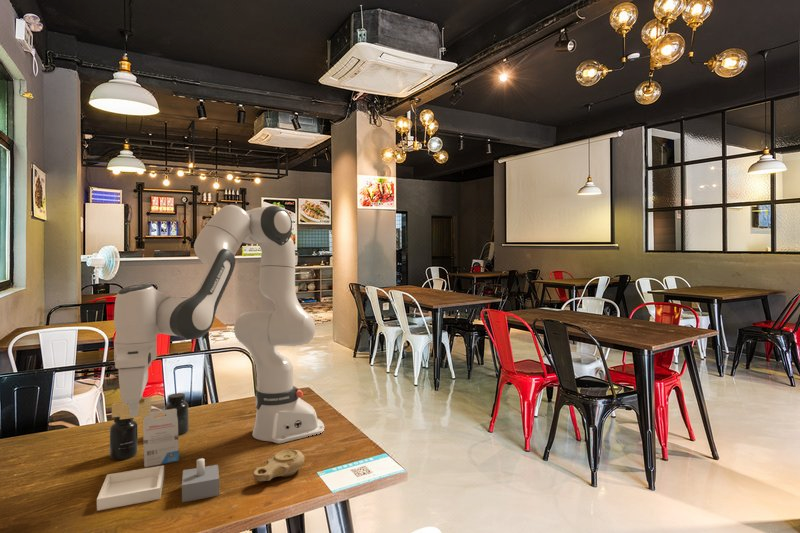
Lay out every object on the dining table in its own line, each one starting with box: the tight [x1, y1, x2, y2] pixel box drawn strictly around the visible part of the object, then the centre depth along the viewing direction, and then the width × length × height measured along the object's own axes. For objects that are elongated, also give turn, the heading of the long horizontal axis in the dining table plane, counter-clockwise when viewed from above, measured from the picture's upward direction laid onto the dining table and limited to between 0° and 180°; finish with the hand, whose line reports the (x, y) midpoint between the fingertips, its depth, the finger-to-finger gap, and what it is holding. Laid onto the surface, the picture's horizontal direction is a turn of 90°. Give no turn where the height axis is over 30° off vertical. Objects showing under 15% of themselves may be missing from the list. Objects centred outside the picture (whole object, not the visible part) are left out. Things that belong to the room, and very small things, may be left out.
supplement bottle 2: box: [164, 392, 190, 436], centre depth 148 cm, size 7×7×12 cm
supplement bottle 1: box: [109, 417, 139, 461], centre depth 131 cm, size 7×7×12 cm
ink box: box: [142, 409, 180, 468], centre depth 128 cm, size 9×5×15 cm, turn 117°
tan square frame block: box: [111, 396, 152, 420], centre depth 110 cm, size 8×6×3 cm
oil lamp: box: [252, 448, 306, 482], centre depth 119 cm, size 11×14×5 cm
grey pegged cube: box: [181, 457, 220, 503], centre depth 112 cm, size 8×8×8 cm
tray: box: [96, 464, 165, 511], centre depth 111 cm, size 13×13×3 cm
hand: (136, 410), depth 111 cm, fingers closed on tan square frame block, 6 cm apart
